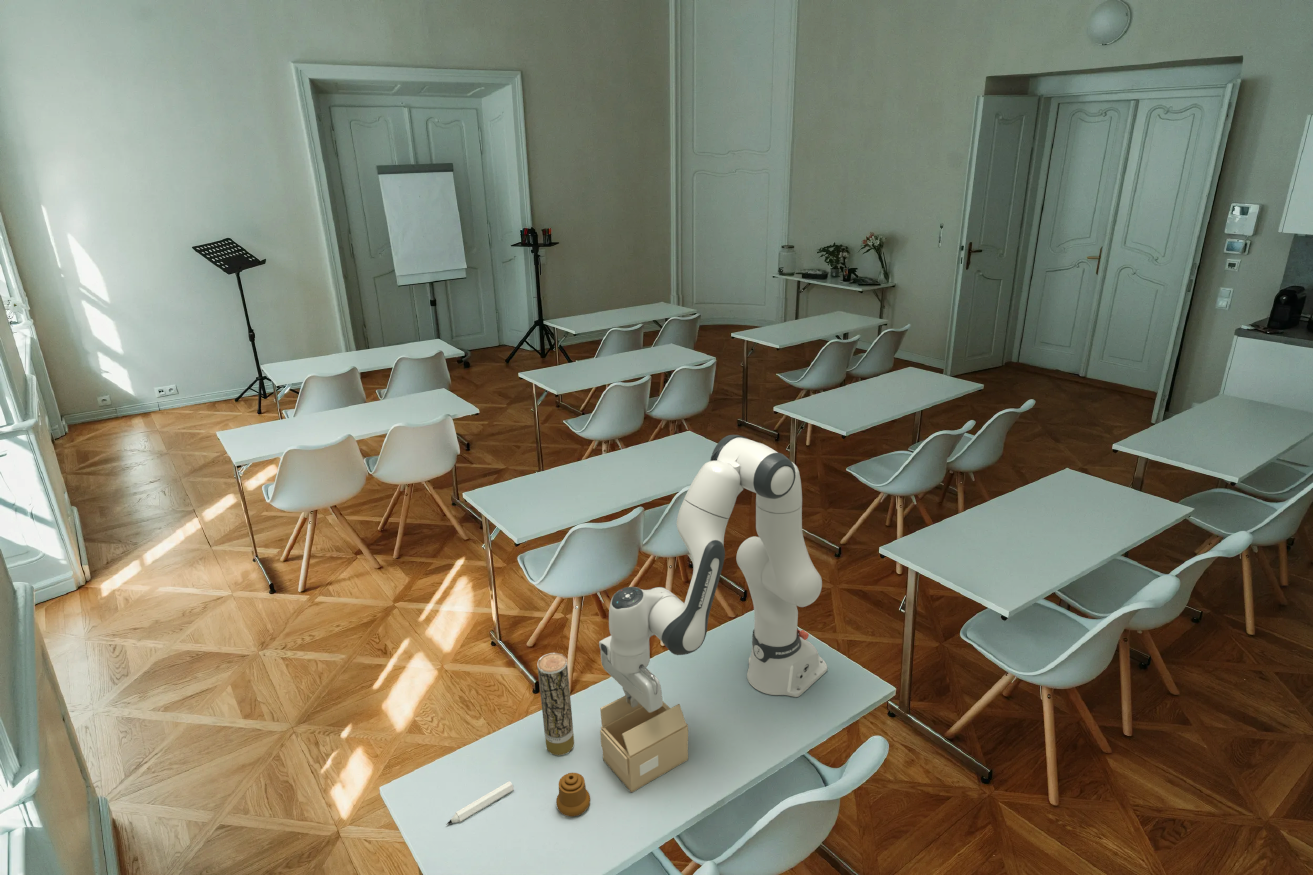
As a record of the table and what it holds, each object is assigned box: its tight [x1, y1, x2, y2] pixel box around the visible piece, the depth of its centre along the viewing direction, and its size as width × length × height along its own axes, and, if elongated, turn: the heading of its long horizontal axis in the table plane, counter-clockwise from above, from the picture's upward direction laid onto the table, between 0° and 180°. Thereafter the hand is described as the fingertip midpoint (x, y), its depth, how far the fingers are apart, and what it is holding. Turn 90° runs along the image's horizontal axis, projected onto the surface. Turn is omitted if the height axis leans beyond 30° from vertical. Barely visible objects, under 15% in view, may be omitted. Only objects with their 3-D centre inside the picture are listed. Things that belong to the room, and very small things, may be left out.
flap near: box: [622, 703, 687, 756], centre depth 174 cm, size 16×1×5 cm, turn 125°
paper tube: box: [536, 652, 575, 756], centre depth 182 cm, size 7×7×25 cm
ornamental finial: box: [555, 772, 591, 818], centre depth 169 cm, size 8×8×8 cm
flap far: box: [599, 695, 642, 727], centre depth 182 cm, size 16×1×5 cm, turn 125°
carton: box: [599, 701, 689, 793], centre depth 180 cm, size 17×12×10 cm
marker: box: [445, 780, 515, 826], centre depth 171 cm, size 3×2×16 cm
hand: (632, 703), depth 180 cm, fingers closed
